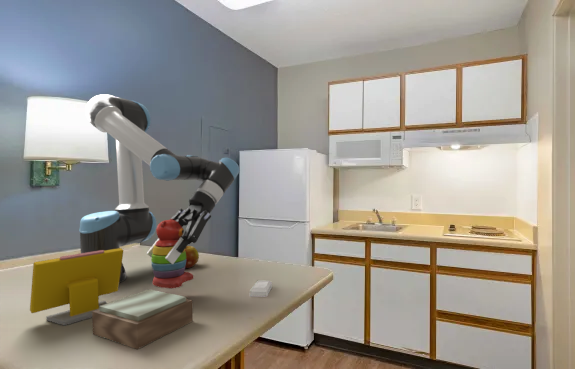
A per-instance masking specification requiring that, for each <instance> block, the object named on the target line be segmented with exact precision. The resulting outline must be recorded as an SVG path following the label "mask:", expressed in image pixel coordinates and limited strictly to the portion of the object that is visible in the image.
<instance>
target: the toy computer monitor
mask: <svg viewBox="0 0 575 369" xmlns="http://www.w3.org/2000/svg"><path fill="white" fill-rule="evenodd" d="M123 256H124V249H123V248H121V247H120V248H118V249H112V250H106V251H104V250H99V251H93V252H87V253H81V252H80V253H76V254H68V255H63V256H60V257H57V258H51V259H45V260H39V261H34V262H33V265H32V276H31V279H32V280H31V291H30V304H29V311H30V313H31V314H35V313H39V312H43V311H47V310H50V309H54V308H58V307H63V306H65V305H67V306H68V305H69V310H64V311H61V312H57V313H54V314H50V315H47V316H46V318H45V319H46V321H48V322H51V321H52V322H51V323H54V322H55V324H58V325H62V326H64V325H65V326H67V324H68V325H70V324H71V323H72V324H75V323H78V322H81V320H82V321H85V320H89V319H92V311H95V310H98V309H99V306H101V305H104V304H107V303H108V302H107V301H106V300H102V301H99V300H100V299H99V298H100V297H101V296H105V295H108V294H113V293H116V292H119V285H120V283H119V279H120V272H121V265H122V263H123ZM74 322H75V323H74ZM72 324H71V325H72Z"/></svg>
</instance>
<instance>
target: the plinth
mask: <svg viewBox="0 0 575 369" xmlns="http://www.w3.org/2000/svg"><path fill="white" fill-rule="evenodd" d="M193 313H194V312H193V300H191V299H188V298H187V297H186V296H183V295H178V294H174V293H168V292H164V291H160V290H159V291H158V290H154V289H148V288H147V289H146V290H142V291H140V292H136V293H135V294H130V295H128V296H125V297H122V298H119V299H117V300H113V301H111V302H107V304H104V305H101V306H99V309H98V310H95V311H92V318H91V319H92V322H91V323H92V335H94V336H97V335H98V337H100V336H101V337H100V338H103V337H105V338H107V339H106V340H108V339H110V340H109V341H111V340H113V341H112V342H114V341H116V342H115V343H117V342H119V343H118V344H120V343H121V345H123V344H124V346H126V345H127V346H126V347H129V348H132V349H136V350H139V349H141V348H143V347H144V346H147V345H149V344H151V343H153V342H154V341H157V340H159V339H161V338H162V337H165V336H167V335H169V334H171V333H172V332H174V331H177V330H178V329H181V328H182V327H184V326H186V325H188V324H191V323H192V322H193V319H194V318H193ZM105 338H104V339H105Z"/></svg>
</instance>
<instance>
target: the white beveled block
mask: <svg viewBox="0 0 575 369" xmlns="http://www.w3.org/2000/svg"><path fill="white" fill-rule="evenodd" d="M272 288H273V282H272V281H271V280H270V279H269V280H263V279H262V280H261V279H258V280H257V281H256V282H255V283H254V284H253V286H252V287H251V289H250V290H249V297H258V298H261V297H262V298H263V297H265V298H267V297H268V295H269V293H270V291H271V289H272Z"/></svg>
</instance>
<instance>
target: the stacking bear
mask: <svg viewBox="0 0 575 369" xmlns="http://www.w3.org/2000/svg"><path fill="white" fill-rule="evenodd" d="M155 233H156V236H157V239H158V238H159V240H158V241H157V240H156V241H157V242H156V241H155V242H156V244H155V246H154V247H153V254H152V258H151V257H150V258H151V262H150V263H151V268H152V272H153V275H154V277H153V279H152V285H153V286H154V287H158V288H161V289H177V288H180V287H182V286H183V283H186V282H190V281H191V280H193V279H194V275H193V273H192V272H188V271H186V268H185V265H186V252H185V249H184V251H183V252H182V253H181V254H180V256H179V257H178V258H177V260H176V261H175V262H174V264H171V263H170V262H169V261H168V260H167V259H165V257H166V256H167V255H168V253H169V252H170V251H171V250H172V248H173V247H174V246H175V244H176V243H177V242H178V240H179V239H182V238H181V236H183V235H184V233H185V230H184V227H181V225H180V224H179V223H178V222H177V221H175V220H173V219H171V218H170V219H165V220H162V221H160V222H159V223H158V224H157V225H156V230H155Z"/></svg>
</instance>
